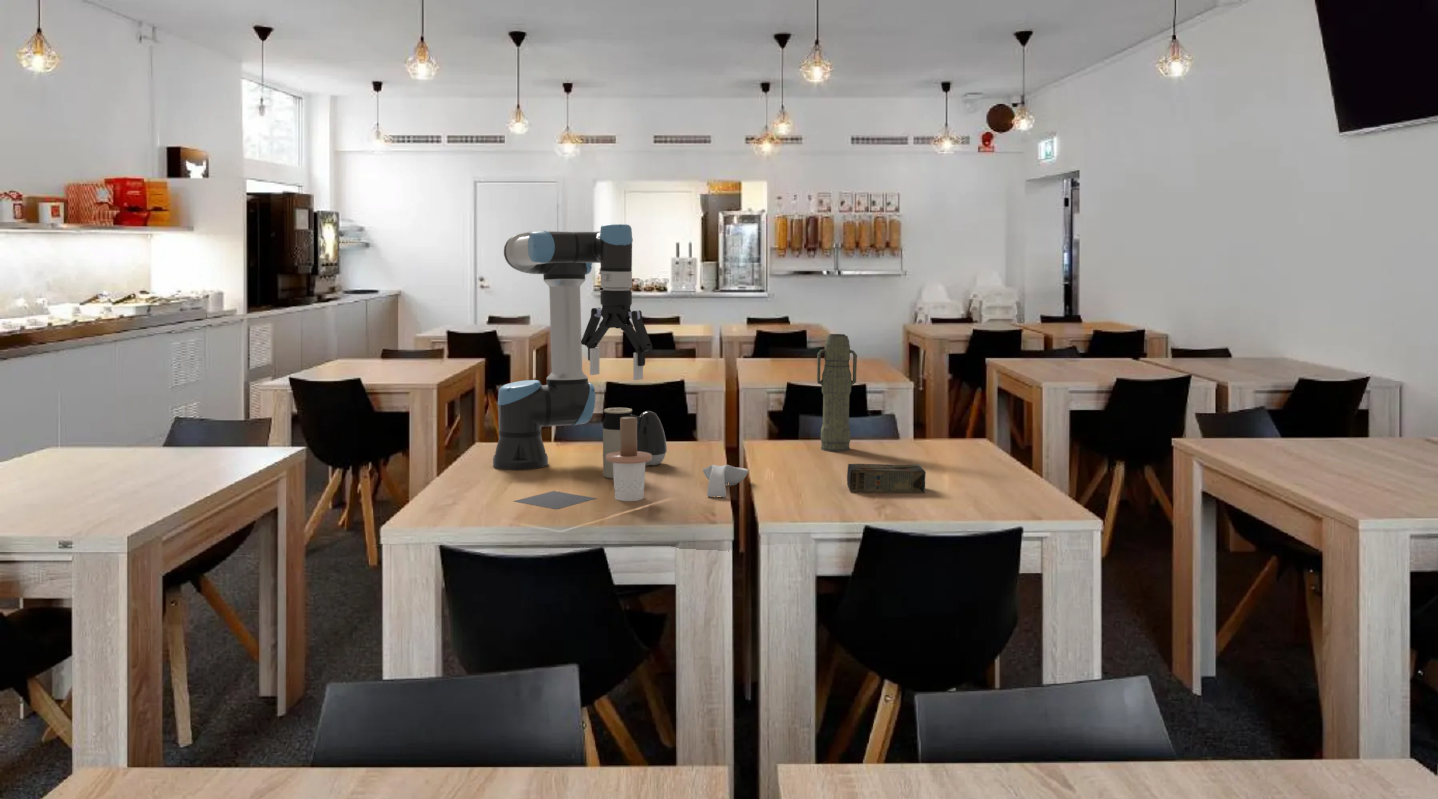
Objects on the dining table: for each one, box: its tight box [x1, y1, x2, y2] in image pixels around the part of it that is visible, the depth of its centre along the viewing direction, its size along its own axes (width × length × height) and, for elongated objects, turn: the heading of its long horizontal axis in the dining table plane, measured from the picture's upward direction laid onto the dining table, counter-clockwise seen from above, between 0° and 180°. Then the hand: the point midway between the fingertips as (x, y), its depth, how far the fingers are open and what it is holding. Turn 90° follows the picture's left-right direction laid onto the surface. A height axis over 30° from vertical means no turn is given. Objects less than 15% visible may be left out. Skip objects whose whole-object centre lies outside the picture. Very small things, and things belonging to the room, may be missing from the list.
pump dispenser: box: [630, 410, 668, 467], centre depth 308 cm, size 10×10×15 cm
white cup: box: [613, 462, 646, 502], centre depth 264 cm, size 8×8×10 cm
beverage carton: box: [846, 463, 926, 494], centre depth 277 cm, size 8×19×7 cm, turn 90°
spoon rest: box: [702, 464, 749, 498], centre depth 279 cm, size 24×12×7 cm, turn 174°
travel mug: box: [602, 407, 633, 480], centre depth 291 cm, size 8×8×18 cm
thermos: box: [816, 333, 858, 453], centre depth 333 cm, size 9×12×35 cm
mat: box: [512, 490, 597, 510], centre depth 262 cm, size 14×14×1 cm
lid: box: [606, 417, 652, 464], centre depth 263 cm, size 11×11×10 cm
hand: (616, 377), depth 266 cm, fingers open, 13 cm apart
